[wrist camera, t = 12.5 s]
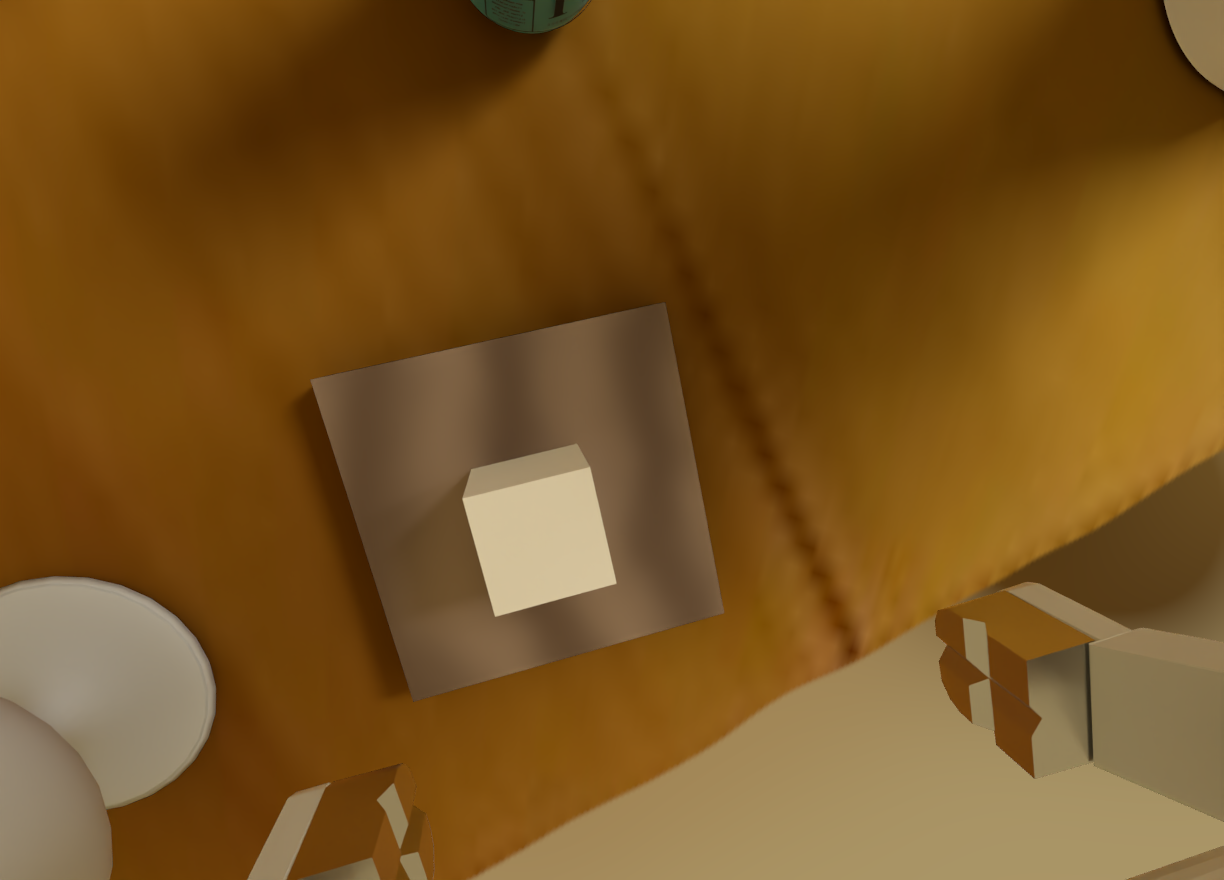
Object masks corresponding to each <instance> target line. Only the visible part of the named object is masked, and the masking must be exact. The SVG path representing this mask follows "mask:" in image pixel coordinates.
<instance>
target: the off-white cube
mask: <svg viewBox="0 0 1224 880" xmlns="http://www.w3.org/2000/svg"><path fill="white" fill-rule="evenodd" d="M462 500H463V503H464V507H465V510H466V514H467V518H468V521H469V525H470V528H471V532H472V536H473V539H474V543H475V546H476V550H477V554H478V557H479V561H480V564H481V568H482V572H483V575H484V579H485V582H486V586H487V590H488V593H489V597H490V600H491V604H492V608H493V611H494V615H495V617H496V616H500V615H504V614H507V613H511V612H515V611H518V610H522V609H526V608H529V607H533V606H537V605H540V604H544V603H548V602H551V601H555V600H559V599H562V598H566V597H570V596H573V595H577V594H581V593H584V592H588V591H592V590H595V589H599V588H603V587H606V586H610V585H614V584H617V583H616V578H615V574H614V569H613V565H612V561H611V556H610V552H609V548H608V543H607V539H606V534H605V530H604V526H603V521H602V517H601V512H600V508H599V504H598V499H597V495H596V491H595V486H594V482H593V477H592V473H591V469H590V466H589V464H588V462H587V461H586V459H585V457H584V455H583V454H582V452H581V450H580V448H579V446H578V445H577V444H573V445H569V446H565V447H561V448H557V449H553V450H549V451H545V452H541V453H536V454H532V455H528V456H524V457H520V458H516V459H512V460H508V461H504V462H499V463H495V464H491V465H487V466H483V467H479V468H475V469H471V472H470V475H469V478H468V482H467V485H466V488H465V491H464V495H463V498H462Z"/></svg>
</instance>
